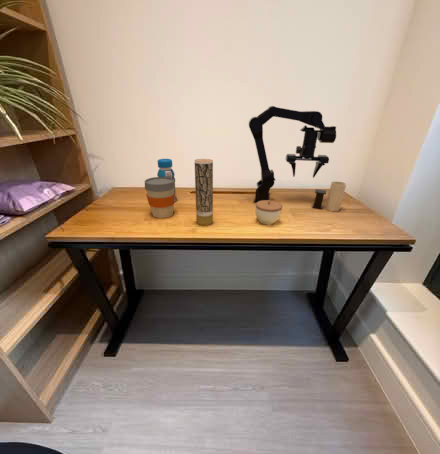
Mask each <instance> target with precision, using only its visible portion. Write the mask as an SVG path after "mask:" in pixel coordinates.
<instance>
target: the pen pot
mask: <svg viewBox="0 0 440 454" xmlns="http://www.w3.org/2000/svg"><path fill="white" fill-rule="evenodd" d="M346 188H347V182H343V181H338V180H337V181H335V180H334V181H331V183H330V186H329V191H328V195H327V199H326V204H325V209H326V210H327V211H330V212H339V211H340V209H341V206H342V203H343V199H344V196H345V191H346Z"/></svg>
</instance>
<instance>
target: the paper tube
mask: <svg viewBox="0 0 440 454" xmlns="http://www.w3.org/2000/svg"><path fill="white" fill-rule="evenodd" d="M194 186H195V187H194V190H195V214H196V215H195V217H196V219H195V220H196V223H197V224H198V225H200V226H208V225H211V224H213V221H214V160H213V159H210V158H197V159H194Z"/></svg>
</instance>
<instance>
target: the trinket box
mask: <svg viewBox="0 0 440 454" xmlns="http://www.w3.org/2000/svg"><path fill="white" fill-rule="evenodd" d="M282 210H283V204H282V203H280V202H278V201H275V200H270V199H269V200H262V201H258V202H257V203H255V216H256V219H257V220H258V221H259V223H261V224H262V225H266V226H271V225H274V224H275V223H276V222H277V221H278V220H279V219H280V217H281V214H282Z"/></svg>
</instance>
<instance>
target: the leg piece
mask: <svg viewBox="0 0 440 454" xmlns="http://www.w3.org/2000/svg"><path fill="white" fill-rule="evenodd" d="M314 194H315V199H314V203H313V205H312V208H313V209H316V210H317V209H318V210H322V209H323V205H322V204H323V202H324V196H325V195H327V190H325V189H319V188H318V189H317V188H315V191H314Z"/></svg>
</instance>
